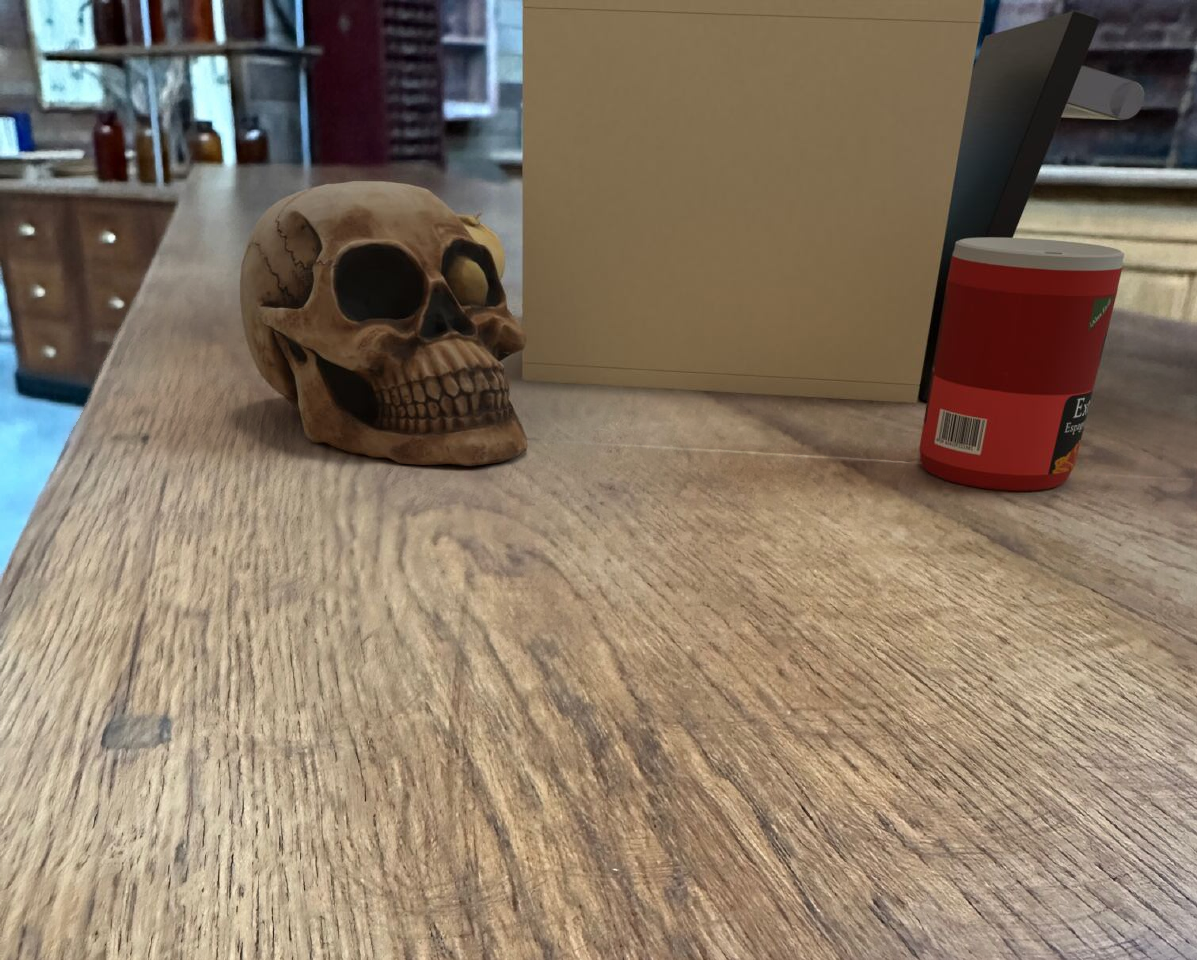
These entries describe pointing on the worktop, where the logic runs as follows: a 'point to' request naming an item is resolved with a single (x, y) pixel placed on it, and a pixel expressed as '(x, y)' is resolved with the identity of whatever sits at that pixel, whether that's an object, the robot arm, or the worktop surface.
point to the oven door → (1020, 130)
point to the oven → (739, 190)
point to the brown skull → (383, 324)
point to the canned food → (1017, 360)
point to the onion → (485, 239)
